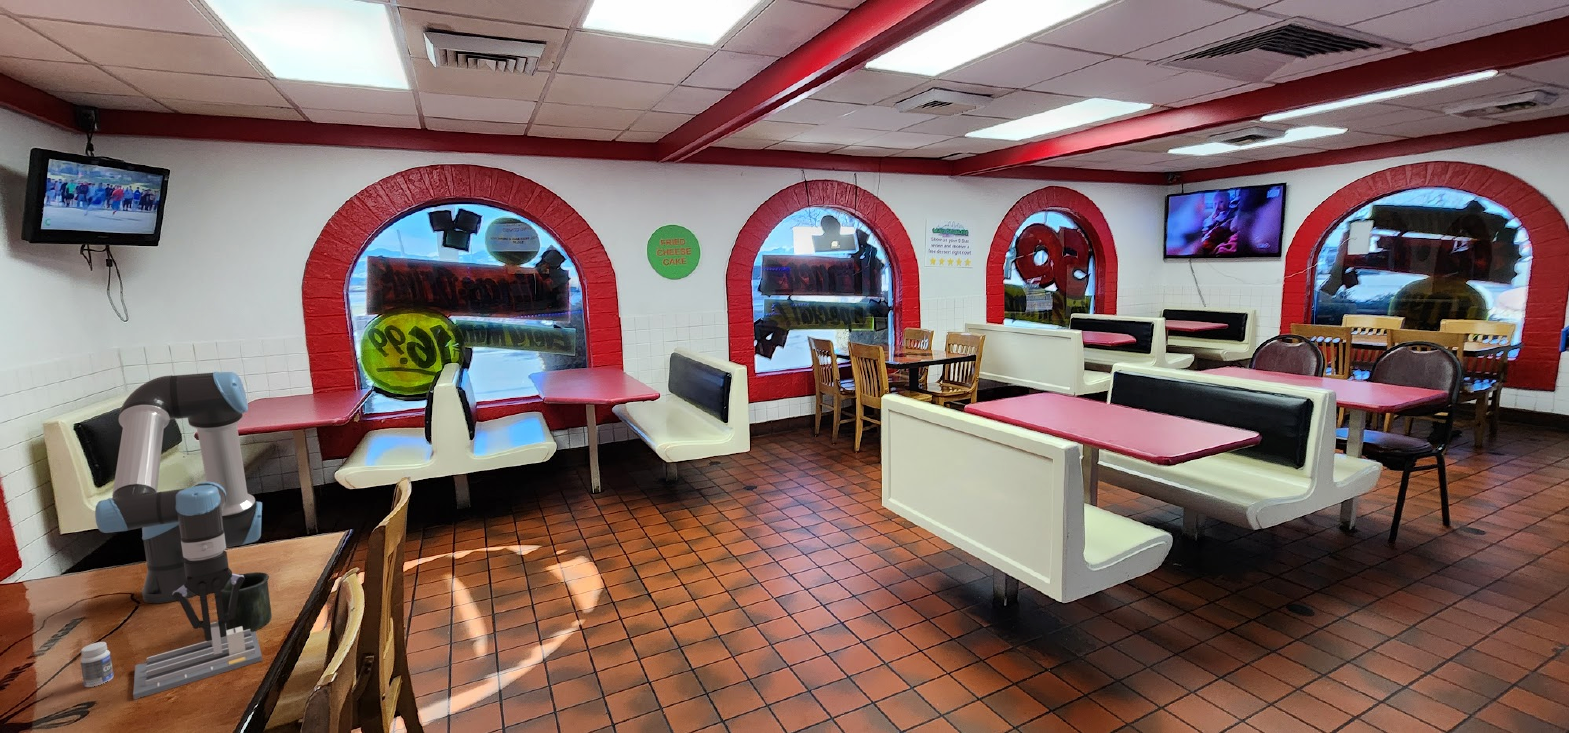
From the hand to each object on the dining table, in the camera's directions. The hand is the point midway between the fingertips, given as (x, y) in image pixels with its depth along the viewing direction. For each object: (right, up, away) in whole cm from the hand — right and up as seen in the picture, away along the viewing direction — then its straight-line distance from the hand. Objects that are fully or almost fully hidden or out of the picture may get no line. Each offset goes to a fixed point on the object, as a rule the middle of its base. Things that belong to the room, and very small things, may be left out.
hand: (217, 651), depth 159 cm
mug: (-8, -1, +19) cm, 21 cm away
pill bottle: (-22, -4, -6) cm, 23 cm away
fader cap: (+3, -1, +3) cm, 4 cm away
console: (-4, -3, 0) cm, 5 cm away
